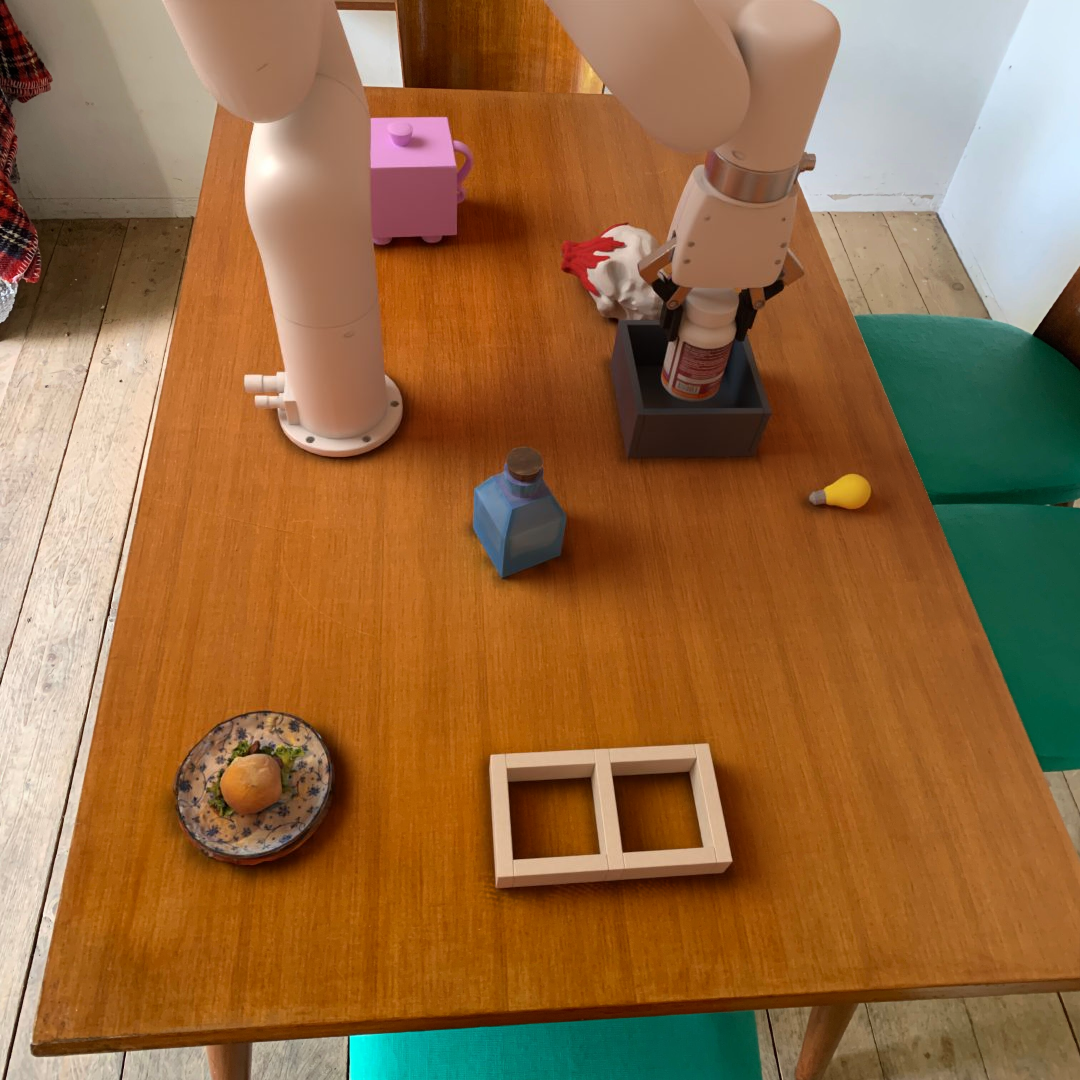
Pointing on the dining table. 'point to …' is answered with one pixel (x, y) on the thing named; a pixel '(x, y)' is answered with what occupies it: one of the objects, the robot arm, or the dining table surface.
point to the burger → (254, 787)
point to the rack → (609, 815)
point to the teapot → (415, 178)
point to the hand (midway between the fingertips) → (703, 330)
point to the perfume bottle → (518, 515)
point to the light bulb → (844, 492)
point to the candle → (615, 272)
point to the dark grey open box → (680, 425)
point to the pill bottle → (701, 344)
